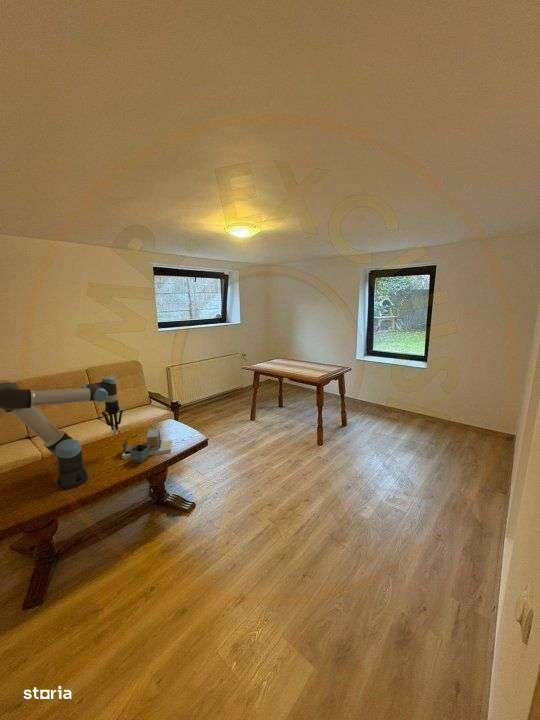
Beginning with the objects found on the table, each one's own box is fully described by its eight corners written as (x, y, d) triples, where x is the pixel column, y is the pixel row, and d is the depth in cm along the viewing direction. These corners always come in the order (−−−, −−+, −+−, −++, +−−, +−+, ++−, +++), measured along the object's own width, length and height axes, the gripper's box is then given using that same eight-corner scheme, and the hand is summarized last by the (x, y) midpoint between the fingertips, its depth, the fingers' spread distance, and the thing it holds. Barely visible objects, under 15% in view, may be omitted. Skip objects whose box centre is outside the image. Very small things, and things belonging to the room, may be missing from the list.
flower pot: (142, 465, 183) (141, 452, 181) (130, 463, 185) (128, 450, 183) (151, 458, 192) (149, 445, 190) (139, 456, 193) (137, 444, 192)
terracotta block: (148, 447, 198) (148, 439, 196) (150, 443, 203) (149, 435, 202) (158, 446, 199) (157, 437, 198) (159, 442, 205) (158, 434, 204)
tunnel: (147, 451, 195) (146, 437, 193) (150, 443, 207) (148, 429, 205) (158, 450, 197) (157, 436, 195) (160, 441, 208) (159, 428, 206)
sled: (123, 452, 193) (122, 444, 192) (126, 447, 200) (125, 438, 199) (160, 448, 199) (159, 439, 198) (161, 442, 206) (160, 434, 205)
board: (122, 458, 190) (122, 455, 190) (126, 448, 204) (126, 445, 203) (170, 452, 198) (170, 449, 198) (171, 443, 212) (171, 439, 211)
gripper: (98, 403, 183) (103, 438, 188) (121, 401, 187) (125, 435, 191) (101, 399, 190) (106, 433, 195) (123, 397, 194) (127, 430, 199)
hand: (115, 434), depth 193 cm, fingers closed
